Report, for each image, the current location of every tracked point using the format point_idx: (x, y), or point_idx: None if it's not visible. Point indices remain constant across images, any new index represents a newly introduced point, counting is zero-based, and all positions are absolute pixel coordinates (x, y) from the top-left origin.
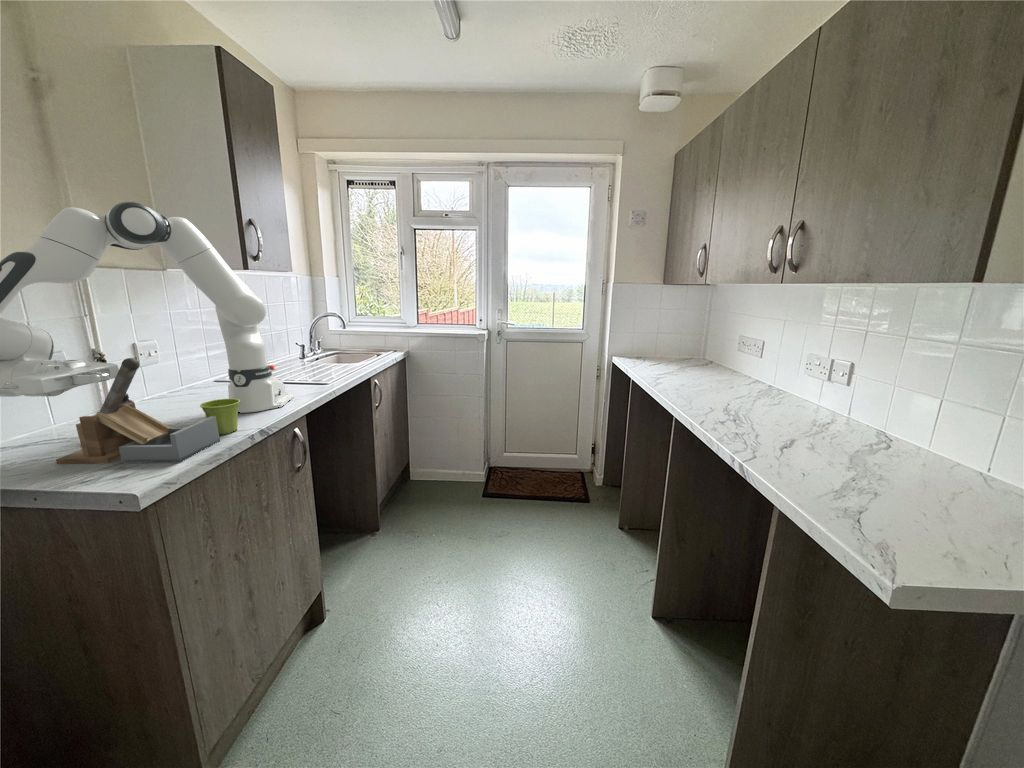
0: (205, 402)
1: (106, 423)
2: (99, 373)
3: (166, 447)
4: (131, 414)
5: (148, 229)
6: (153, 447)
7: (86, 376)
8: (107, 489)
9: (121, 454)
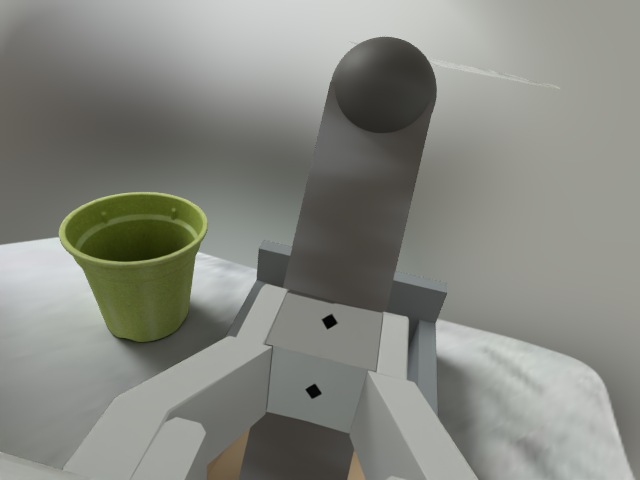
0: (91, 257)
1: None
2: (270, 339)
3: (434, 338)
4: (228, 462)
5: None
6: (436, 369)
7: (427, 415)
8: (610, 445)
9: None
